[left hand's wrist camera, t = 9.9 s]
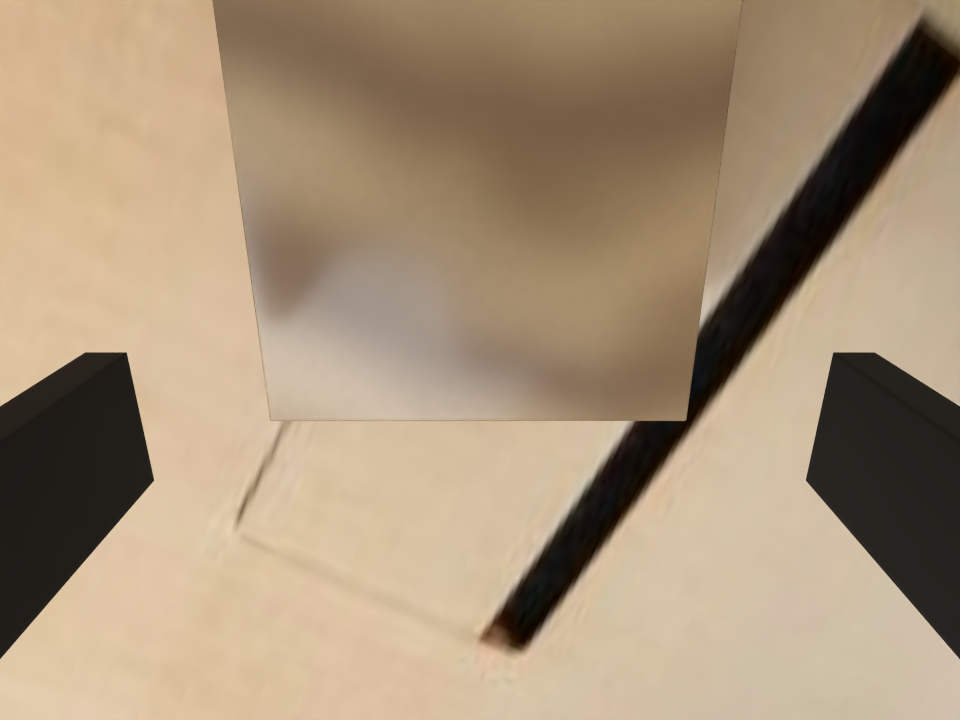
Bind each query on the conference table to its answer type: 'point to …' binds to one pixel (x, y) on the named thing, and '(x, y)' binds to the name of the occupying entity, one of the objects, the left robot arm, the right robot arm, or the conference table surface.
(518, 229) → the cabinet
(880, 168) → the conference table surface
